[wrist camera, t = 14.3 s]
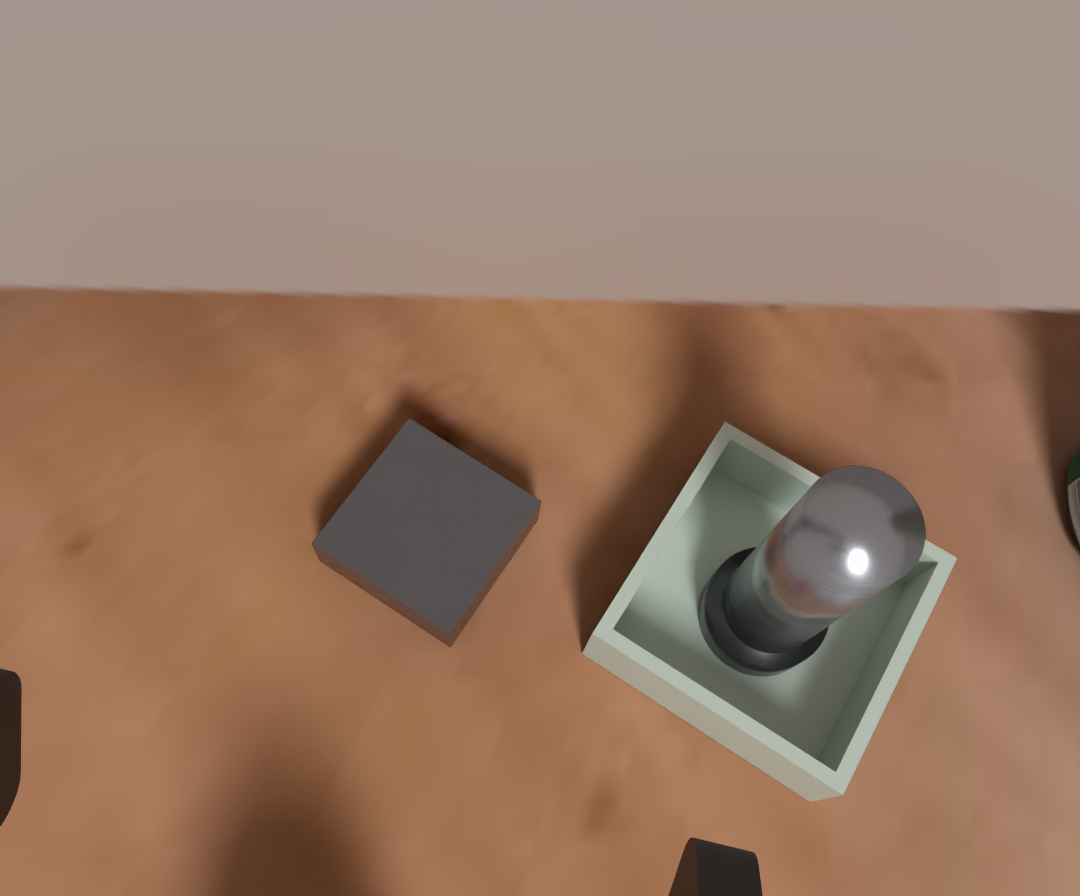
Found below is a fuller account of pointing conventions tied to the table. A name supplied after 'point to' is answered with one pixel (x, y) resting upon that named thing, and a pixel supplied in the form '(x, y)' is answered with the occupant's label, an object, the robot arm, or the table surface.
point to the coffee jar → (1074, 495)
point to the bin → (743, 700)
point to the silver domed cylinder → (811, 570)
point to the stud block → (428, 531)
